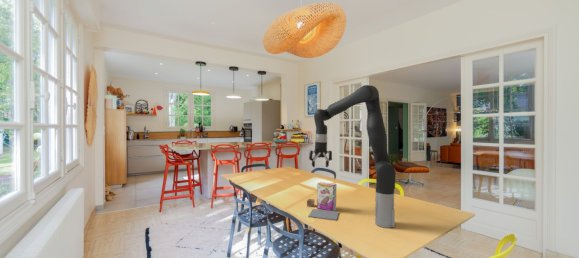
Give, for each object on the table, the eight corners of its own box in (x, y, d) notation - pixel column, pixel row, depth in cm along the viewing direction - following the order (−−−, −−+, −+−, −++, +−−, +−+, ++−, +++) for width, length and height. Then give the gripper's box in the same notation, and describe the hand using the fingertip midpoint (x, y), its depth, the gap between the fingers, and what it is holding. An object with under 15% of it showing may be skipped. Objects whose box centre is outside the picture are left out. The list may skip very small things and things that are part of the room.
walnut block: (314, 205, 157) (314, 199, 157) (312, 207, 153) (313, 201, 153) (308, 204, 158) (308, 198, 158) (306, 206, 154) (306, 200, 154)
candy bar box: (316, 208, 150) (317, 182, 150) (320, 206, 154) (320, 181, 154) (333, 212, 144) (333, 185, 144) (336, 209, 148) (336, 183, 148)
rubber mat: (338, 212, 144) (338, 211, 144) (336, 220, 132) (336, 219, 132) (312, 209, 149) (312, 208, 149) (308, 216, 137) (308, 215, 137)
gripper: (311, 141, 144) (310, 168, 144) (334, 142, 147) (333, 168, 147) (308, 140, 151) (307, 166, 152) (329, 141, 154) (328, 165, 154)
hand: (320, 167), depth 149 cm, fingers open, 8 cm apart
